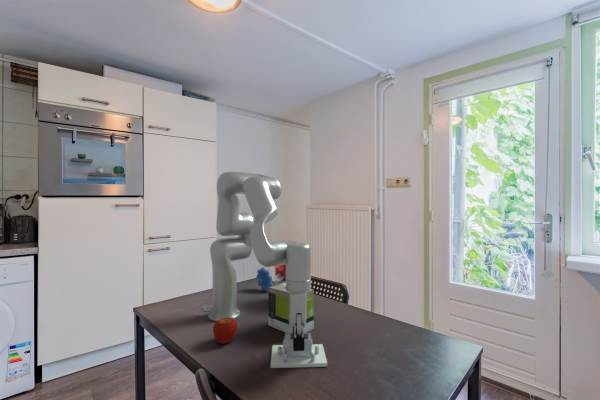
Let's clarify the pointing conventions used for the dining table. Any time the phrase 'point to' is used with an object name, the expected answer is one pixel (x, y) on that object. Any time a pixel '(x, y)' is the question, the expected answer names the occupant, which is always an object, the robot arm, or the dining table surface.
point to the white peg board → (282, 361)
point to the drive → (297, 354)
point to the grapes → (264, 279)
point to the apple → (225, 330)
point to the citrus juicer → (280, 274)
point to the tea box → (286, 309)
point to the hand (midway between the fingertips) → (298, 343)
